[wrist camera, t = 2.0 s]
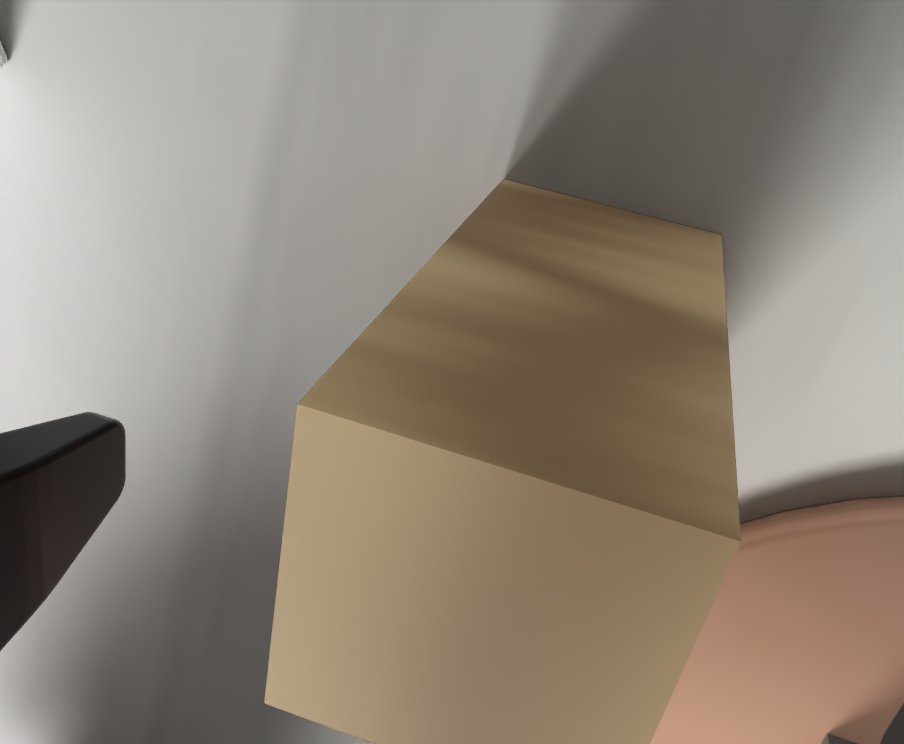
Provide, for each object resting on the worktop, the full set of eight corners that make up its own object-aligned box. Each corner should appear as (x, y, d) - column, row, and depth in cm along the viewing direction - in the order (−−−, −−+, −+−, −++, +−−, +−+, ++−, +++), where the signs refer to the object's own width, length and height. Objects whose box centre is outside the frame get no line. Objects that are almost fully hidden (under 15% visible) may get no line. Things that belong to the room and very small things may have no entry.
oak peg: (462, 368, 17) (263, 702, 9) (503, 178, 15) (296, 404, 8) (654, 423, 17) (610, 830, 9) (721, 234, 15) (741, 541, 7)
